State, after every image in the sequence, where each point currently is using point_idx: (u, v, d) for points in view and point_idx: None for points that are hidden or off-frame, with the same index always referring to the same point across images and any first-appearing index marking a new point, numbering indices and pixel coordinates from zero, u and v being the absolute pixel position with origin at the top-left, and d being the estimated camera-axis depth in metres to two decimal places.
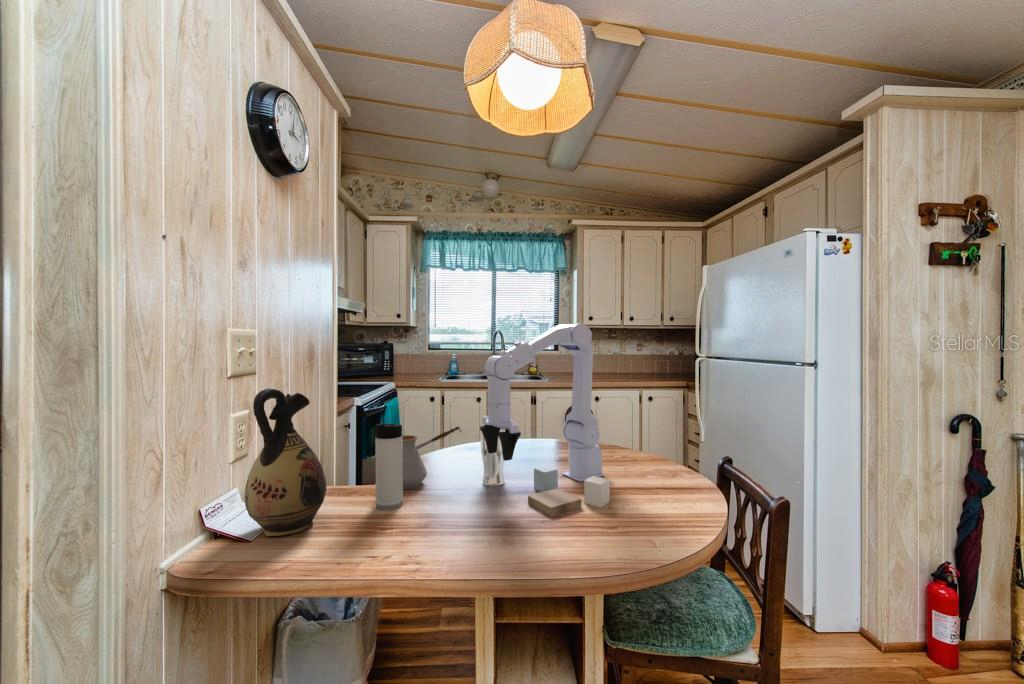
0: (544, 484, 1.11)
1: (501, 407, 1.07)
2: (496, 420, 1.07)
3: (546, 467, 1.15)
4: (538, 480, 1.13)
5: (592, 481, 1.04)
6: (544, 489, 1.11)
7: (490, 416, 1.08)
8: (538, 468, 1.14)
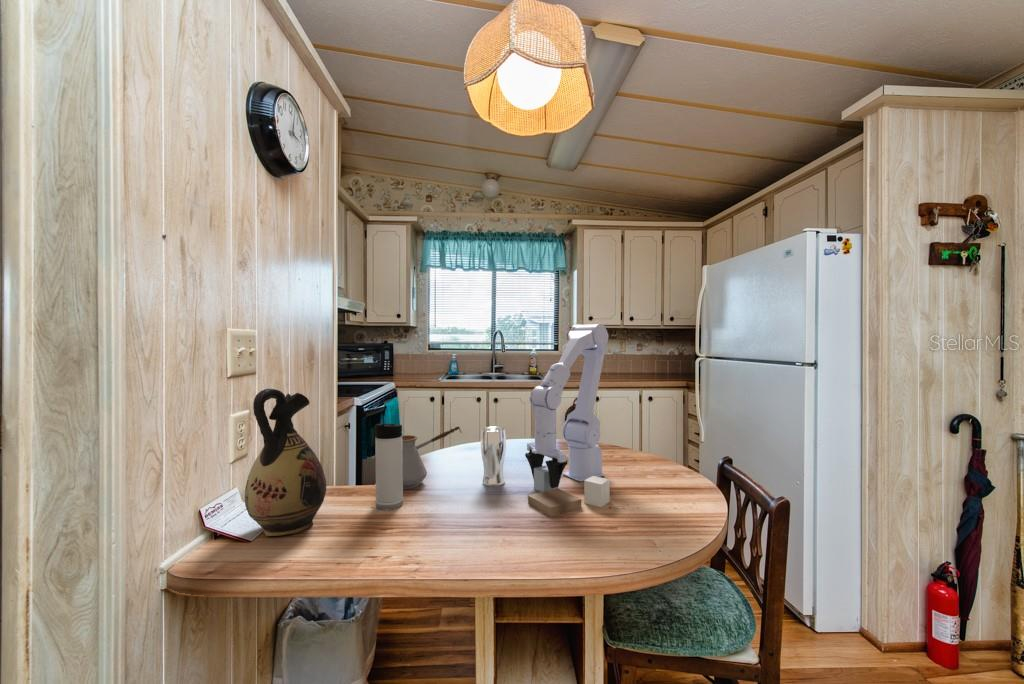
0: (544, 484, 1.11)
1: (548, 436, 1.11)
2: (543, 448, 1.11)
3: (546, 467, 1.15)
4: (538, 480, 1.13)
5: (592, 481, 1.04)
6: (544, 489, 1.11)
7: (537, 445, 1.12)
8: (538, 468, 1.14)
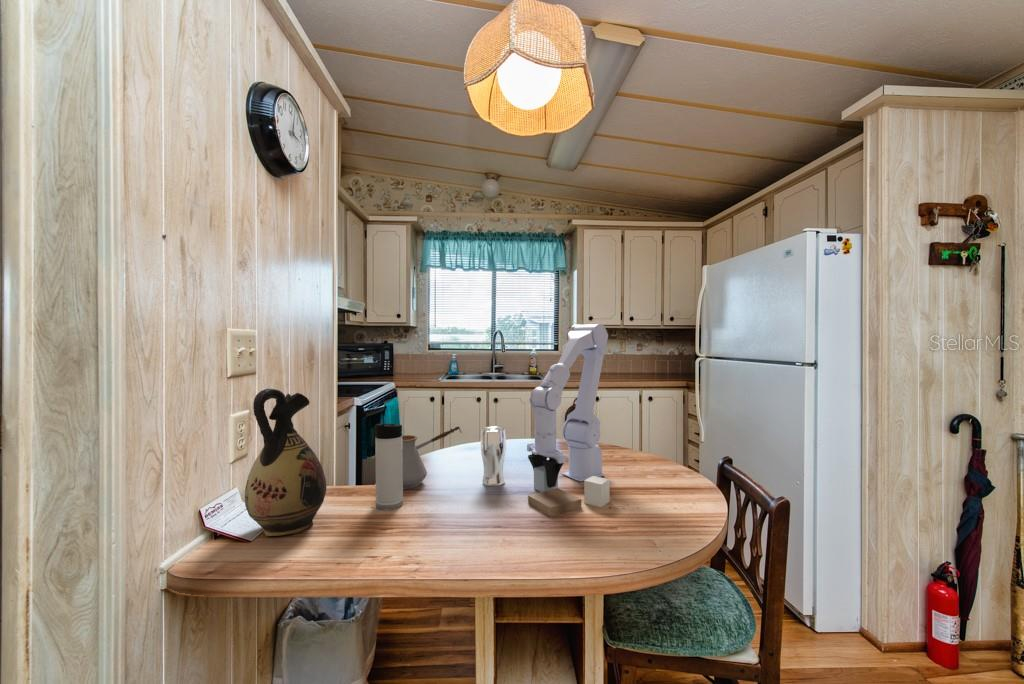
0: (544, 483, 1.11)
1: (548, 437, 1.11)
2: (543, 449, 1.11)
3: None
4: (538, 480, 1.13)
5: (592, 481, 1.04)
6: (544, 489, 1.11)
7: (537, 446, 1.12)
8: (538, 468, 1.14)
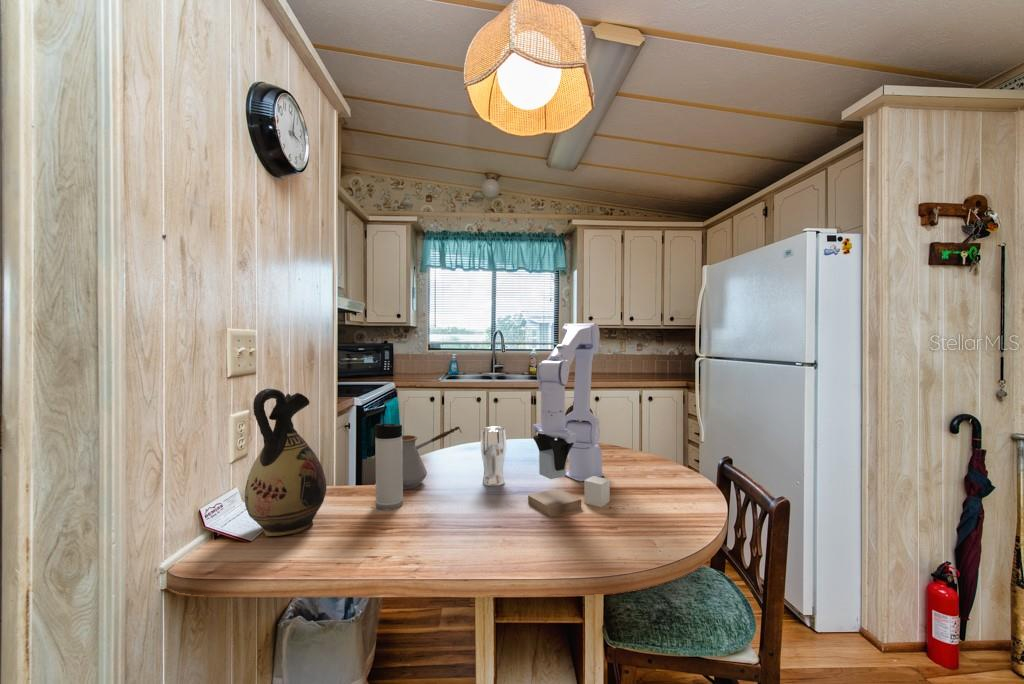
0: (551, 468, 1.00)
1: (556, 415, 1.01)
2: (551, 428, 1.01)
3: None
4: (544, 465, 1.02)
5: (592, 481, 1.04)
6: (551, 474, 1.00)
7: (544, 424, 1.02)
8: (544, 451, 1.04)
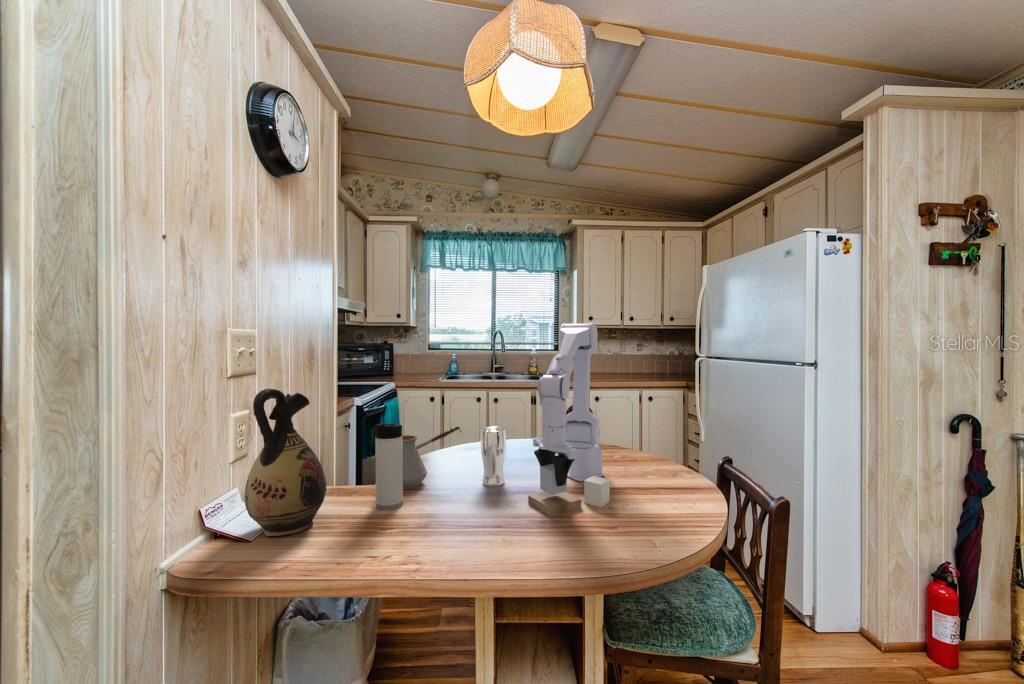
0: (552, 484, 1.00)
1: (557, 430, 1.00)
2: (552, 444, 1.00)
3: None
4: (545, 480, 1.02)
5: (592, 481, 1.04)
6: (552, 490, 1.00)
7: (545, 440, 1.01)
8: (545, 466, 1.03)
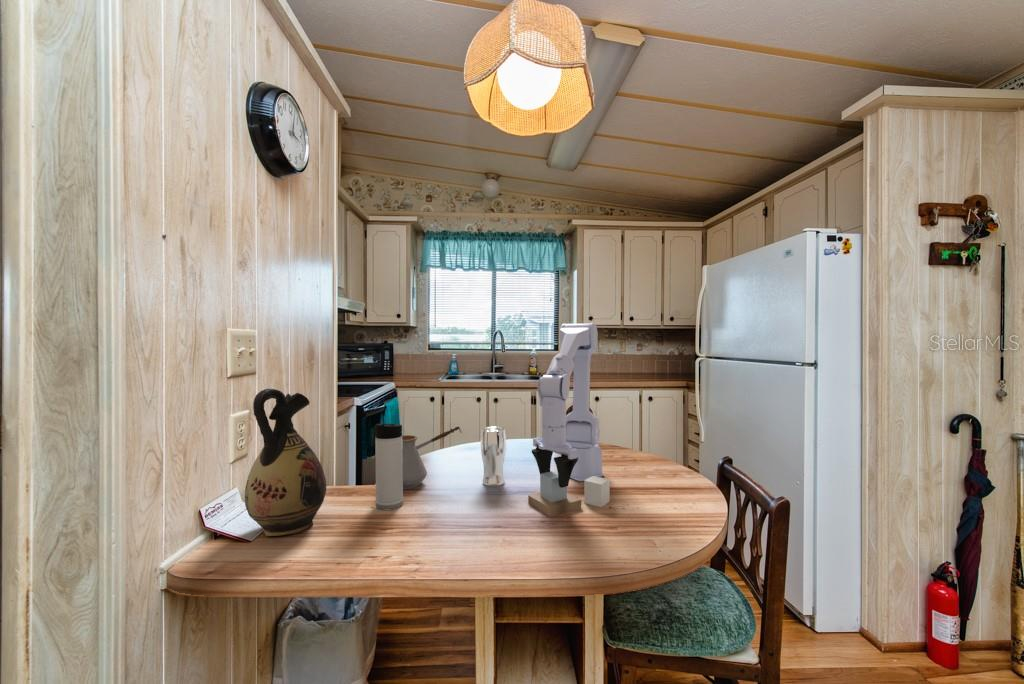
0: (552, 491, 1.00)
1: (557, 430, 1.00)
2: (552, 444, 1.00)
3: (554, 473, 1.04)
4: (545, 487, 1.02)
5: (592, 481, 1.04)
6: (552, 497, 1.00)
7: (545, 440, 1.01)
8: (545, 474, 1.03)
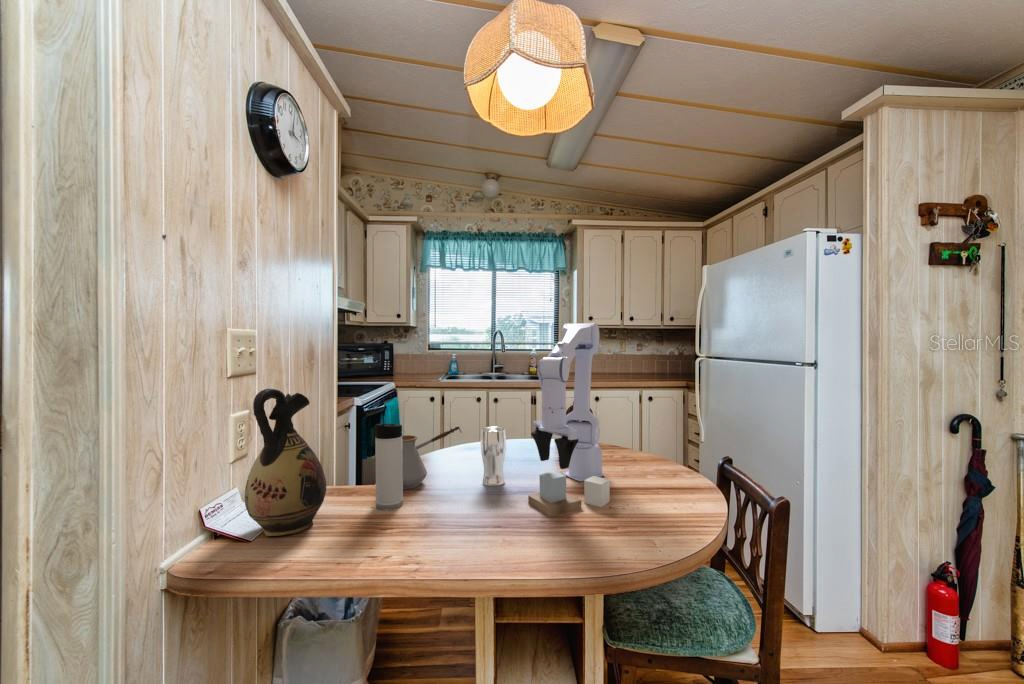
0: (551, 492, 1.00)
1: (557, 412, 1.00)
2: (552, 425, 1.00)
3: (553, 473, 1.04)
4: (544, 488, 1.02)
5: (592, 481, 1.04)
6: (551, 498, 1.00)
7: (545, 421, 1.01)
8: (544, 474, 1.03)
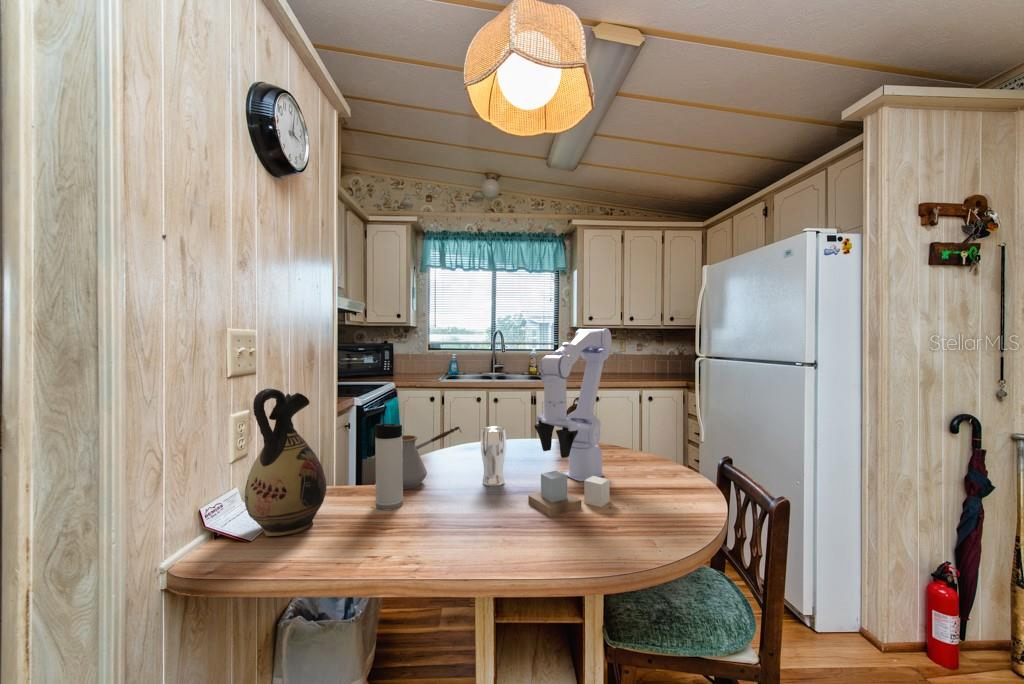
0: (552, 491, 1.00)
1: (558, 405, 1.09)
2: (553, 418, 1.09)
3: (554, 473, 1.04)
4: (545, 487, 1.02)
5: (592, 481, 1.04)
6: (552, 497, 1.00)
7: (547, 414, 1.10)
8: (545, 474, 1.03)
